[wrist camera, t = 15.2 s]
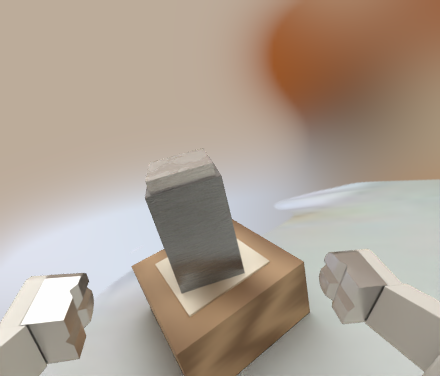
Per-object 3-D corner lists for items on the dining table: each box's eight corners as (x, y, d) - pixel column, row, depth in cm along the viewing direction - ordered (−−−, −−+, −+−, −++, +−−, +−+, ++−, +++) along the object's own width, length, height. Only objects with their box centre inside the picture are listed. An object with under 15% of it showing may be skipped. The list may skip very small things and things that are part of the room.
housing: (244, 272, 22) (218, 162, 18) (181, 293, 21) (139, 185, 17) (229, 238, 27) (206, 146, 23) (178, 254, 26) (145, 162, 22)
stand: (199, 406, 19) (175, 353, 17) (150, 307, 29) (130, 264, 27) (309, 312, 24) (303, 260, 22) (236, 254, 34) (226, 214, 32)
